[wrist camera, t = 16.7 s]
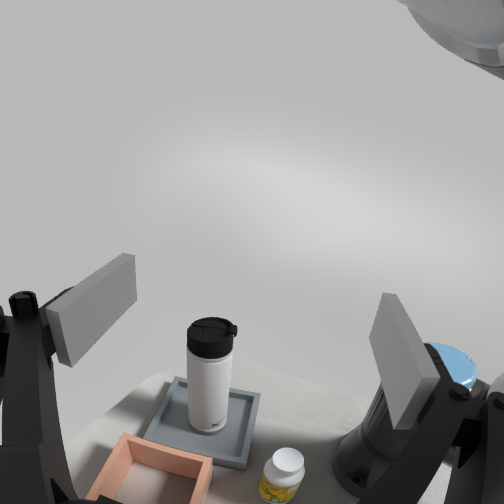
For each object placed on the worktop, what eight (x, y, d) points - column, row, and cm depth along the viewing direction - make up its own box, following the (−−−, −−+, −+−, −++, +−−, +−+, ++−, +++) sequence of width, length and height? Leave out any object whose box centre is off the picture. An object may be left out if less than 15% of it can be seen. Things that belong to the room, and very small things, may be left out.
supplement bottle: (302, 493, 35) (318, 461, 32) (273, 511, 32) (286, 483, 29) (278, 471, 39) (290, 437, 36) (250, 487, 36) (258, 455, 32)
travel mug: (225, 439, 44) (233, 342, 37) (184, 431, 44) (180, 334, 37) (230, 412, 49) (240, 316, 43) (193, 405, 50) (193, 309, 43)
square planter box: (212, 477, 37) (212, 457, 35) (190, 549, 25) (187, 538, 23) (130, 453, 38) (123, 432, 36) (97, 516, 26) (84, 499, 24)
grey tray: (258, 401, 54) (260, 393, 53) (245, 470, 39) (246, 463, 38) (175, 384, 55) (175, 376, 55) (144, 445, 40) (142, 438, 40)
